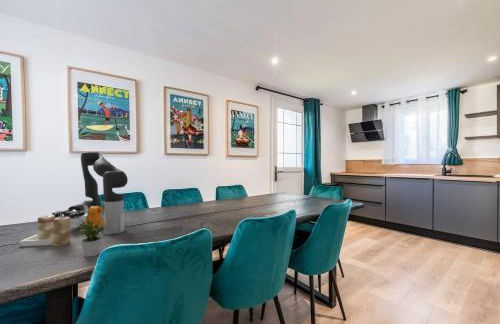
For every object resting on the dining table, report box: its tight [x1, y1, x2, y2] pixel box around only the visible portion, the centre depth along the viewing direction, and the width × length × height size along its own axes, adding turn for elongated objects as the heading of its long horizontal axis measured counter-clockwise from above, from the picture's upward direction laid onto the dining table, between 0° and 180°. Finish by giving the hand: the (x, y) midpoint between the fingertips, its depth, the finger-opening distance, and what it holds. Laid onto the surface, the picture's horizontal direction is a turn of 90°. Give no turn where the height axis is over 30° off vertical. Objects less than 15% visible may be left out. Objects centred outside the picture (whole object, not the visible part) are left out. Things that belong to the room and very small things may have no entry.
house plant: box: [70, 216, 109, 258], centre depth 95 cm, size 14×14×16 cm
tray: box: [19, 233, 53, 248], centre depth 111 cm, size 13×13×2 cm
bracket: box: [83, 205, 104, 229], centre depth 137 cm, size 11×7×12 cm, turn 171°
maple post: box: [37, 214, 56, 240], centre depth 111 cm, size 5×5×11 cm
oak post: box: [52, 217, 71, 247], centre depth 107 cm, size 4×4×12 cm
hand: (61, 217), depth 122 cm, fingers open, 8 cm apart
